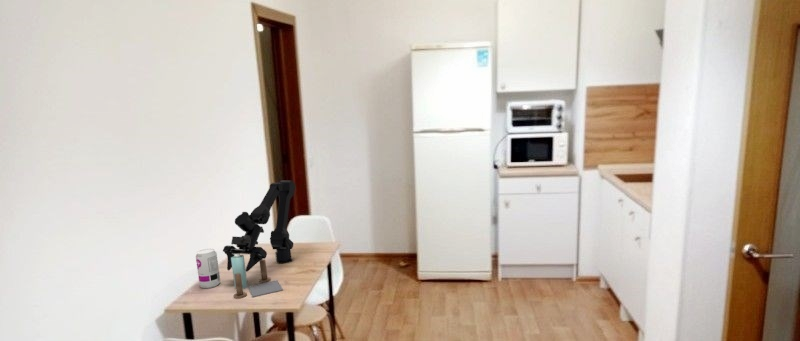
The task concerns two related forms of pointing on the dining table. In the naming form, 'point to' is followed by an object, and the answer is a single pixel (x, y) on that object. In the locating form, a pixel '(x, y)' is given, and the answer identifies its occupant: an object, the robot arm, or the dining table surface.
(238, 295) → the walnut gate posts
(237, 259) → the teal bottle
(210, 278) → the supplement can
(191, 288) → the dining table surface
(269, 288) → the charcoal rubber mat
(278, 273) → the dining table surface
